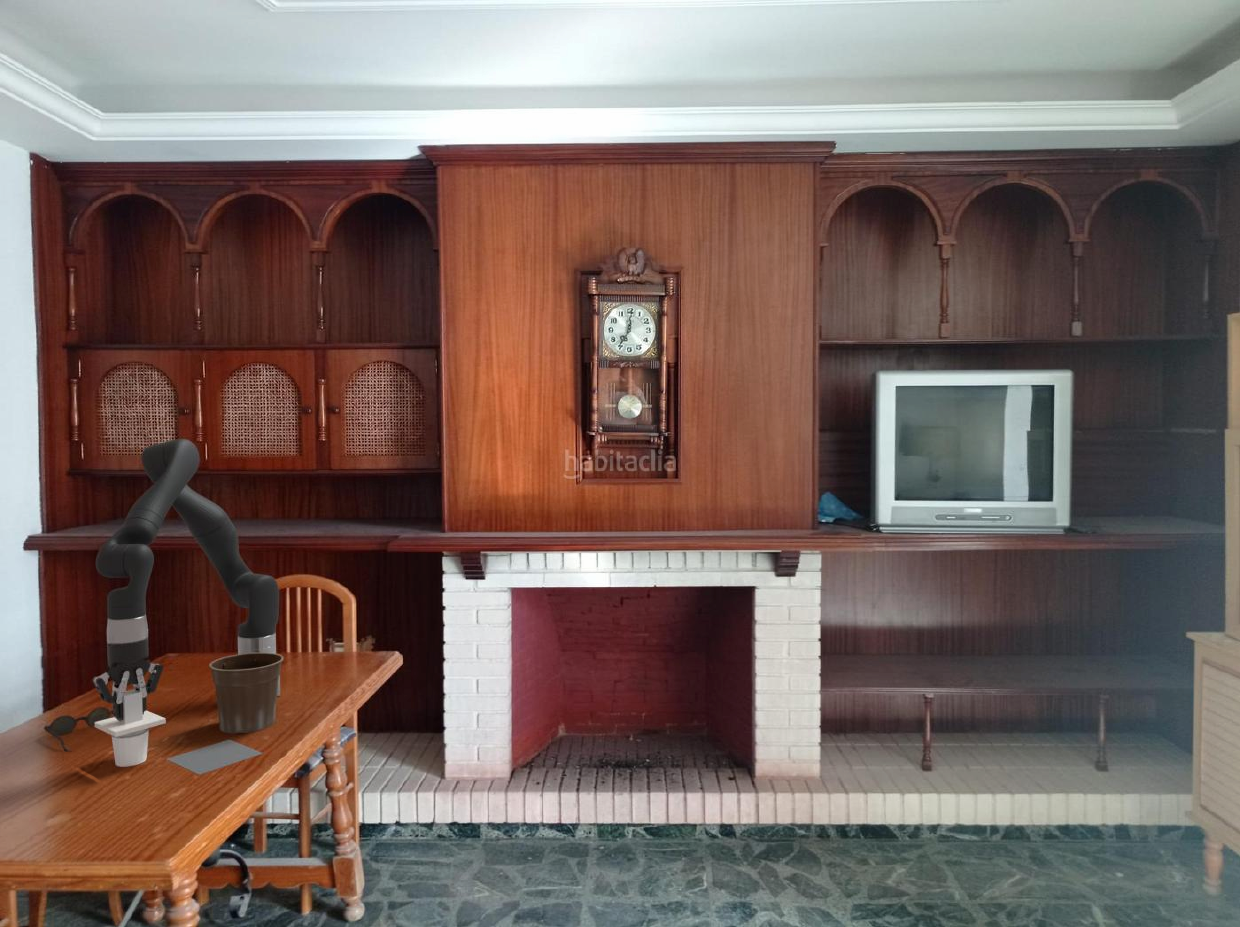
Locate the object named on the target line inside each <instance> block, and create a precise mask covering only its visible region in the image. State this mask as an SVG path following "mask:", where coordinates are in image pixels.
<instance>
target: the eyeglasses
mask: <svg viewBox="0 0 1240 927" xmlns="http://www.w3.org/2000/svg"><path fill="white" fill-rule="evenodd" d="M111 715H113V709H112V710H109V709H108V708H107V707H105V706H98V707H95V708H93V709H92V710H91V711H90V712H89V713H88V714H87V715H86V716H79V717H77V718H74V717H73V716H72V715H69V714H66V715H60V716H58V717H56V718H55V719H54V720H53V721H52V722H51V724H50V725H45V726H44V727H43V729H44V731H46V732H47V733H48V734H50V735H51V736H53V737H55V738H56V739H57V740H59V741H60V743H61V745H62V746H61V747H62V749H63V751H64V752H69V753H73V752H74V751H73V750H71V749H68V748H67V747H66V745H65V742H64V740H63V738H62V737H61V735H65V734H64V733H66V734H69V733H68V732H71V733H72V732H73V731H74V730H75V728H76V726H77V724H78V722H79V721H84V722H85V724H86V725H87V726H88V727H90V728H93V727H92V726H94V727H95V722H98V721H101V720H105V719H109V717H110V716H111ZM60 734H61V735H60Z"/></svg>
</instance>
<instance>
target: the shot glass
mask: <svg viewBox="0 0 1240 927" xmlns="http://www.w3.org/2000/svg"><path fill="white" fill-rule="evenodd" d="M149 730H150V729H149V728H147V729H143V730H139V731H136V732H132V733H129V734H125V735H121V736H118V737H114V736H112V735H111V741H112V748H113V756H114V762H115V763H114V764H115V766H116V767H121V768H123V767H124V768H126V767H132V766H137V765H140V764H142V763H144V762H145V761H147V759H148V758H147V755H148V744H149Z"/></svg>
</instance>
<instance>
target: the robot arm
mask: <svg viewBox="0 0 1240 927" xmlns="http://www.w3.org/2000/svg"><path fill="white" fill-rule="evenodd" d="M200 458H201V457H200V453H199V450H198V448H197V446H196V445H195V443H193V442H192V441H190V440H189V439H186V438H178V439H177V438H176V439H173V440H167V441H164V442H161V443H160V442H159V443H156V444H153V445H150V446H147V447H145V449H144V450H143V451H142V453H141V463H142V467H143V469H144V471H145V473H146V475H147V476H148V478H149V479H150V481H151V482H152V484H153V485H152V486H150V487H149V488H148V489H147V490H146V491H144V493H143V494H141V496H140V497H139V498H138V499H137V500H136V501H135V502H134V503H133V505H132V506H131V508H130V510H129V511H128V513H127V516H126V517H125V519H124V521H123V523H122V526H121V527H119V529H118V530H116V532H114V533H113V535H112V536H110V537H109V538H108V539H107V541H105V542H104V543H103V545H102V546H101V547H100V549H99V551H98V553H97V555H96V558H95V568H96V570H97V572H98V574H100V575H101V576H102V577H103V578H104V577H105V578H114V579H115V578H130V580H129V582H128V585H127V586H124V587H118V588H116V589H115V588H114V589H113V590H111V591H110V592H109V593H108V594H107V598H106V599H107V600H106V601H107V602H106V603H107V604H106V605H107V608H106V609H107V626H106V648H107V649H106V652H107V668H106V670H105V672H104V673H102V674H101V675H99V676H94V677H92V679H91V680H92V681H91V682H93V685H94V687H95V689H96V691H97V692H98V695H99V696H100V698H101V700H102V701H103V702H106V703H108V704H112V710H113V714H112V716H113V717H114V718H116V719H117V720H119V721H121V720H123V719H124V713H123V703H122V701H123V696H124V692H125V691H127V687H128V686H130V685H132V686H133V687H134V689H135V690H138V691H139V692H142V711H143V715H144V712H145V711H147V696H148V695H150V694H151V693H155V692H156V690H157V687H158V684H159V681H160V678H161V676H162V672H163V670H164V665H163V664H160V663H156V662H155V663H151V661H150V659H149V628H148V627H149V626H148V620H147V615H146V614H147V606H146V605H147V603H146V595H147V589H148V585H149V582H150V581H149V580H150V579H151V578H150V577H151V574H152V571H153V567H154V563H155V562H154V561H155V559H154V558H155V555H154V552H153V551H152V549H151V547H150V545H151V544H153V543H154V541H155V540H156V538H157V536H158V533H159V531H160V529H161V527H162V525H163V522H164V520H165V518H166V516H167V514H168V512H169V511H170V509H171V508H172V507H173V509H174V510H175V511H176V513H177V514H178V515H179V517H180V518H181V519H182V521H183V522H184V525H186V527H187V529H188V530H189V532H190V534H191V535H192V537H193V538H194V540H195V541H196V543H197V544H198V546H199V547H200V548H201V550H202V551H203V552H204V554H205V555H206V557H207V558H208V561H210V563H211V565H212V566H213V567H214V569H215V571H216V572H217V574H218V575H219V577H220V579H221V582H222V583H223V586H224V587H225V590H226V592H227V593H228V595H229V597H230V600H232V602H233V603H234V604H235V605H237V606H238V607H241V608H244V609H248V610H247V612H248V615H247V620H246V621H244V622H242V623H240V624H239V625H237V626H238V627H237V655H238V654H246V653H275V654H277V644H276V643H277V641H276V637H277V636H276V627H277V624H278V621H279V618H280V617H279V614H280V612H279V610H280V588H279V585H278V581H277V580H276V579H275V578H274V577H273V576H271V575H268V574H262V573H254V572H253V571H251V570H250V568H249V567H248V565H246V563H245V561H244V559H242V556H241V554H240V551H239V550H240V549H239V535H238V531H237V528H236V527H235V525H234V524H233V522H232V520H231V519H230V517H229V516H228V514H227V513H226V512H225V510H224V509H223V508H222V507H221V506H220V505H218V504H217V503H215V502H213V501H212V500H209V499H208V498H206V497H205V496H203V495H201V494H200V493H198V492H196V491H194V490H193V489H192V488H191V487H190V486H189V485H188V483H189V482H190V481H191V479H192V478H193V476H194V475H195V473H196V472H197V470H198V468H199V466H200V462H201V460H200ZM147 672H148V673H149V675H148V677H147V680H146V681H145V678H144V677H145V675H146V674H147ZM109 679H110V680H111V681H112V682H113V683H112V689H111V690H112V693H111V691H110V689H109V688H108V686H107V684H108V683H109V681H108V680H109ZM280 696H281V674H280V675H279V678H278V689H277V697H280Z"/></svg>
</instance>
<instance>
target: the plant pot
mask: <svg viewBox="0 0 1240 927" xmlns="http://www.w3.org/2000/svg"><path fill="white" fill-rule="evenodd" d="M283 661H284V656H283V655H281V654H279V653H276V654H275V653H246V654H238V653H237V654H233V655H228V656H223V657H221V658H217V659H215V660H213V661H211V662H210V663H209V669H210V670H211V674H212V682H213V683H214V687H215V694H216V696H215V697H216V702H217V703H216V705H217V715H218V723H219V724H218V725H219V731H220V732H222V733H225V734H230V735H231V734H234V735H235V734H249V733H254V732H258V731H259V732H260V731H262V730H266V729H268V728H270V727H271V726H273V725H274V723H275V722H276V712H277V698H278V696H277V689H278V678H279V675H280V676H281V668H282V662H283Z"/></svg>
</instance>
